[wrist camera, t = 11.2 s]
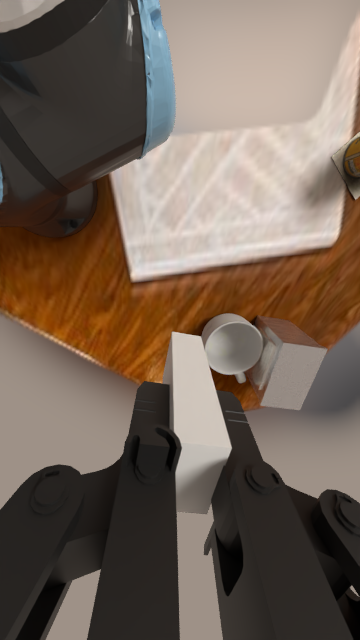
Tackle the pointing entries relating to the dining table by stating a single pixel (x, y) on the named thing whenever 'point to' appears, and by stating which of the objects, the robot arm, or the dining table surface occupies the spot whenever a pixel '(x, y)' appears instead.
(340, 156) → the condiment
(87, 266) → the dining table surface
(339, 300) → the dining table surface
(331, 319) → the dining table surface
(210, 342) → the teacup
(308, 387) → the napkin dispenser
